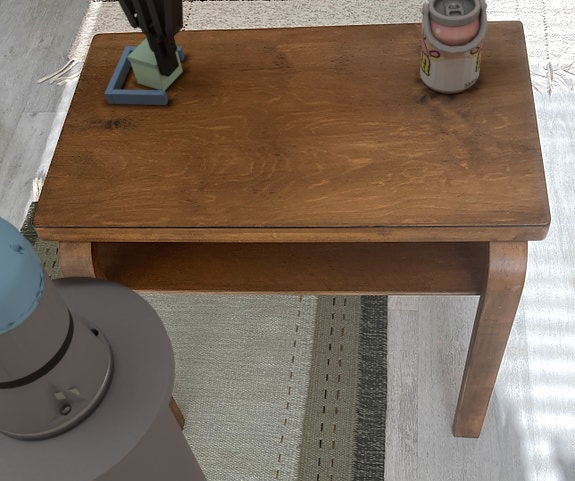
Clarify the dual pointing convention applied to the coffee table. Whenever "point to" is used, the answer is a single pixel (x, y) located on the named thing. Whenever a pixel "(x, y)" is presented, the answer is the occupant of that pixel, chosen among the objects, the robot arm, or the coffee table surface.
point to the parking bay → (133, 96)
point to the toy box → (150, 68)
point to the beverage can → (452, 43)
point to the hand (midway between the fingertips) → (169, 70)
